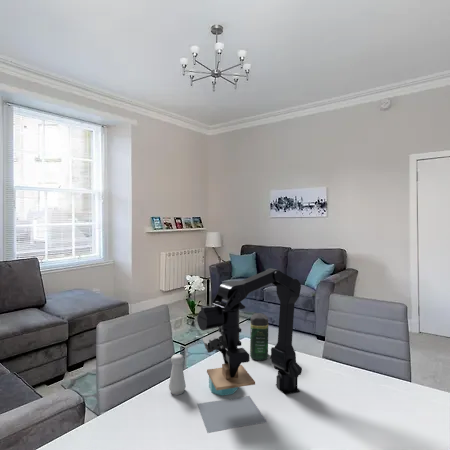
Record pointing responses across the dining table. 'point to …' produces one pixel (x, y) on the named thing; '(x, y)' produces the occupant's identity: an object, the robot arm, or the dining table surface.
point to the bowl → (221, 392)
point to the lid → (223, 379)
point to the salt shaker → (177, 375)
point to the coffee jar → (259, 336)
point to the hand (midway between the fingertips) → (230, 374)
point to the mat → (230, 414)
